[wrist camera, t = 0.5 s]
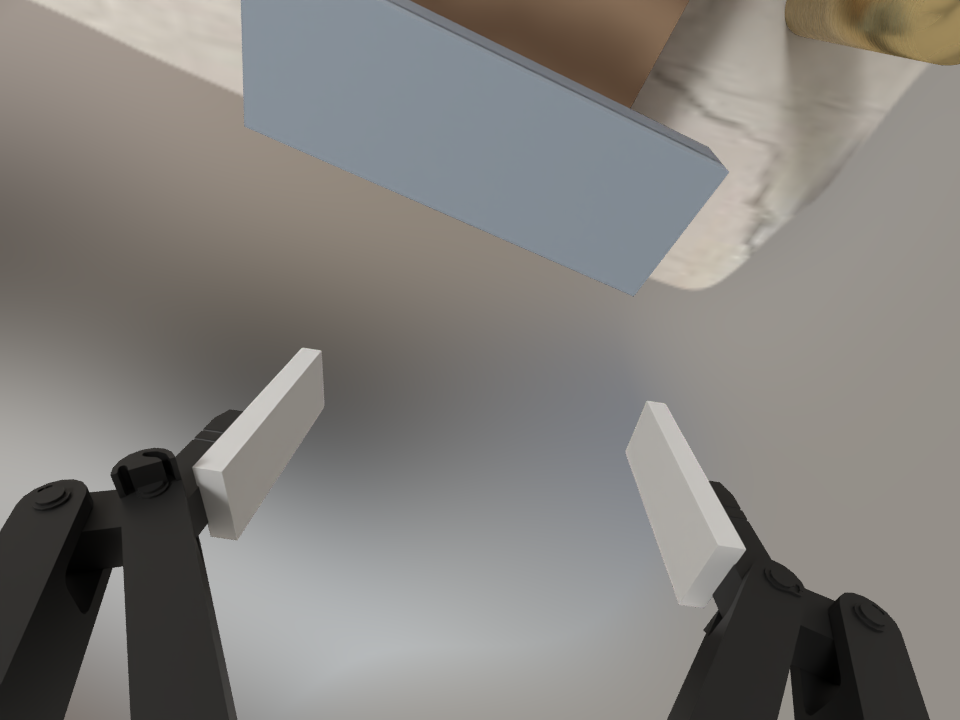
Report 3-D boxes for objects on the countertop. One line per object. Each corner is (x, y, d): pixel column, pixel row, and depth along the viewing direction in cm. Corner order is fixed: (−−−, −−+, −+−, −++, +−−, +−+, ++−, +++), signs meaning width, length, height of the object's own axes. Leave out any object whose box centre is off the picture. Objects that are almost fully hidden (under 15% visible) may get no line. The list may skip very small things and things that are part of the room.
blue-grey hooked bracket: (384, -43, 28) (239, -67, 16) (669, 100, 31) (729, 172, 19) (367, 76, 33) (244, 126, 21) (614, 191, 36) (633, 296, 23)
